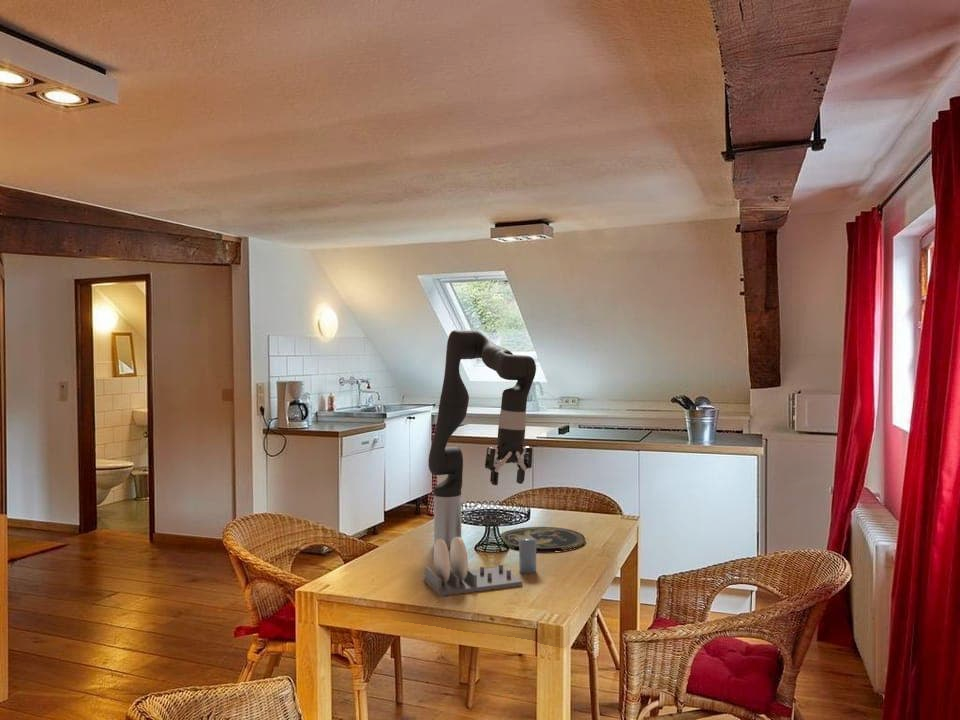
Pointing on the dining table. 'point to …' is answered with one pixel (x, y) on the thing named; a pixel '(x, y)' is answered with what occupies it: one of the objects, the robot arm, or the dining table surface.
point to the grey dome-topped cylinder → (527, 555)
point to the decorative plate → (545, 538)
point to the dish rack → (463, 572)
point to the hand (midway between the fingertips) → (507, 483)
